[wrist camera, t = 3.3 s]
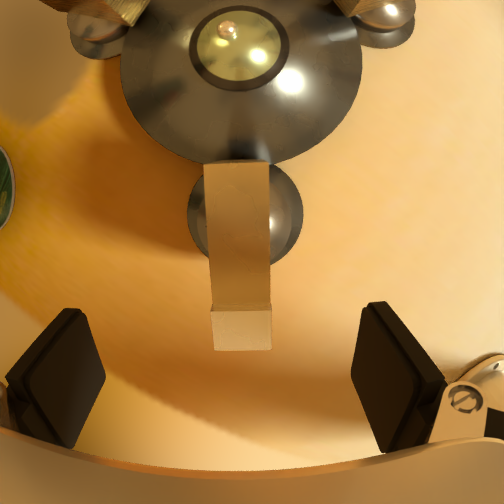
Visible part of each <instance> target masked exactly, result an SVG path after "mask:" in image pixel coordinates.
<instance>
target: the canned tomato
mask: <svg viewBox="0 0 504 504" xmlns="http://www.w3.org/2000/svg"><path fill="white" fill-rule="evenodd" d="M14 199H15V179H14V172H13V167H12V165H11V162H10V159H9V157H8V155H7V153H6V152H5V150H4V149H3V148H2V147H1V146H0V229H2V228H3V227H4V226H5V225H6V223H7V222H8V220H9V218H10V215H11V213H12V209H13V206H14Z"/></svg>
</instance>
